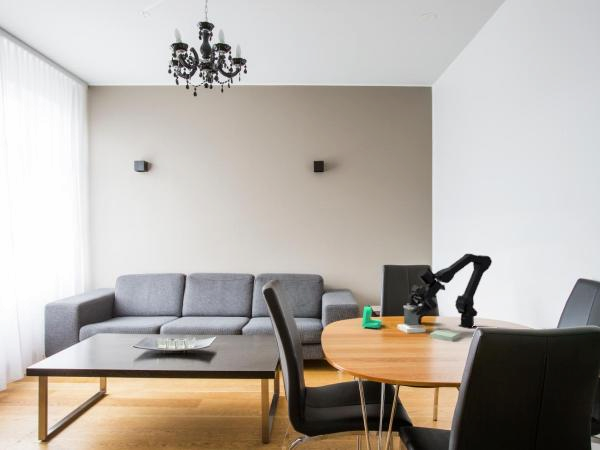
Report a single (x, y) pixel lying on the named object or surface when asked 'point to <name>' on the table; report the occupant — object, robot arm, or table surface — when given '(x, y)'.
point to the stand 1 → (411, 329)
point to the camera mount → (369, 319)
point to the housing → (410, 316)
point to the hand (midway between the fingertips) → (411, 313)
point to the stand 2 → (445, 335)
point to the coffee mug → (420, 314)
